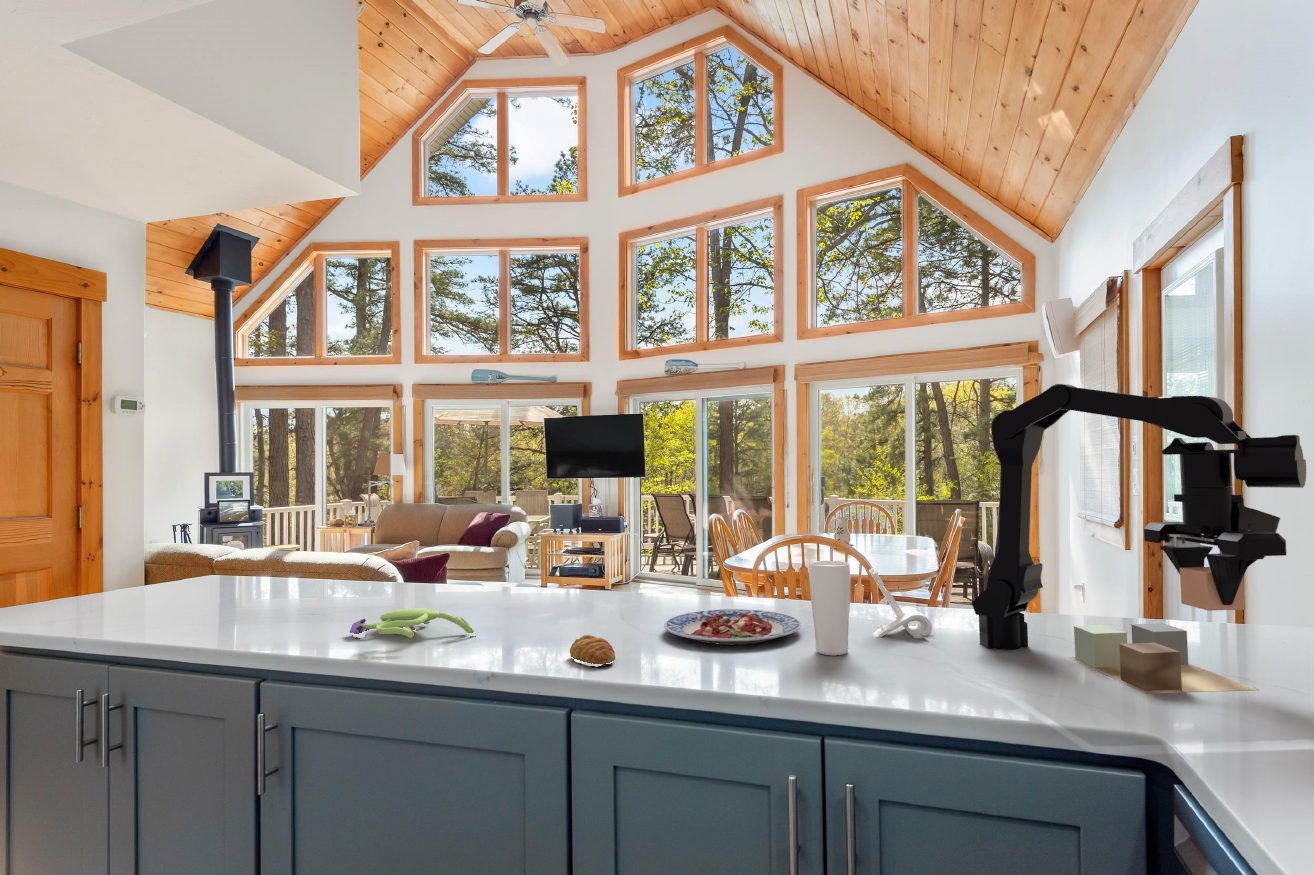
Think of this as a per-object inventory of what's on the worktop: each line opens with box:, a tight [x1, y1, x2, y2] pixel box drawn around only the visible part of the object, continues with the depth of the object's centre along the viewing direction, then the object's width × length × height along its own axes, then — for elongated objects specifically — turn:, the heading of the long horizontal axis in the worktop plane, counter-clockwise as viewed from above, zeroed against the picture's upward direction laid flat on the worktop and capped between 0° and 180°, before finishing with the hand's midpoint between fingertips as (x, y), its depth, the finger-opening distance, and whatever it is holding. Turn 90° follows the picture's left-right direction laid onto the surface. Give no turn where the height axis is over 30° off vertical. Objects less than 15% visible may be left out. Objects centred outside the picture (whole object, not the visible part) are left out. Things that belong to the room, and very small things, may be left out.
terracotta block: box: [1179, 566, 1246, 612], centre depth 102 cm, size 5×5×5 cm
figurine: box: [349, 607, 475, 639], centre depth 146 cm, size 18×27×6 cm
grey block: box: [1130, 622, 1189, 665], centre depth 113 cm, size 5×5×5 cm
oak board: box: [1068, 656, 1259, 695], centre depth 107 cm, size 15×18×1 cm
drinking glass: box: [808, 560, 852, 657], centre depth 126 cm, size 7×7×15 cm
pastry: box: [569, 634, 616, 664], centre depth 124 cm, size 9×7×4 cm
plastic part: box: [868, 567, 933, 639], centre depth 138 cm, size 8×10×12 cm
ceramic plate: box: [663, 608, 802, 645], centre depth 141 cm, size 26×26×3 cm
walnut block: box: [1119, 642, 1182, 691], centre depth 102 cm, size 5×5×5 cm
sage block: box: [1073, 624, 1128, 668], centre depth 113 cm, size 5×5×5 cm
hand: (1212, 601), depth 102 cm, fingers closed on terracotta block, 5 cm apart
